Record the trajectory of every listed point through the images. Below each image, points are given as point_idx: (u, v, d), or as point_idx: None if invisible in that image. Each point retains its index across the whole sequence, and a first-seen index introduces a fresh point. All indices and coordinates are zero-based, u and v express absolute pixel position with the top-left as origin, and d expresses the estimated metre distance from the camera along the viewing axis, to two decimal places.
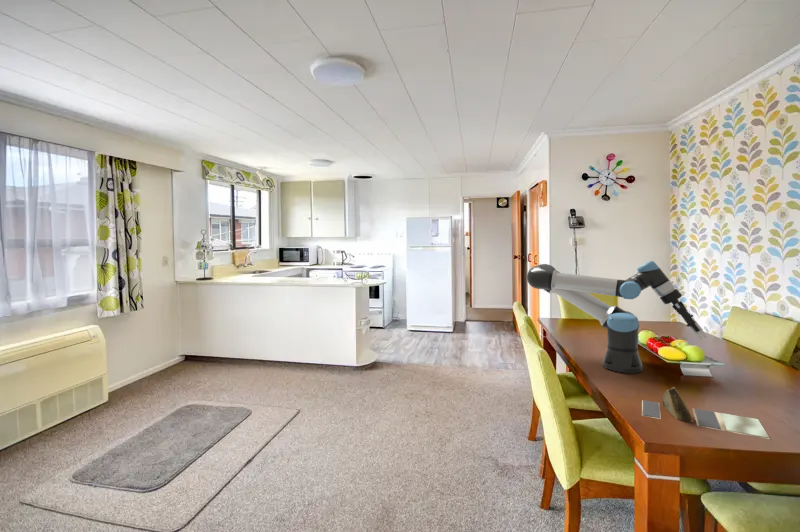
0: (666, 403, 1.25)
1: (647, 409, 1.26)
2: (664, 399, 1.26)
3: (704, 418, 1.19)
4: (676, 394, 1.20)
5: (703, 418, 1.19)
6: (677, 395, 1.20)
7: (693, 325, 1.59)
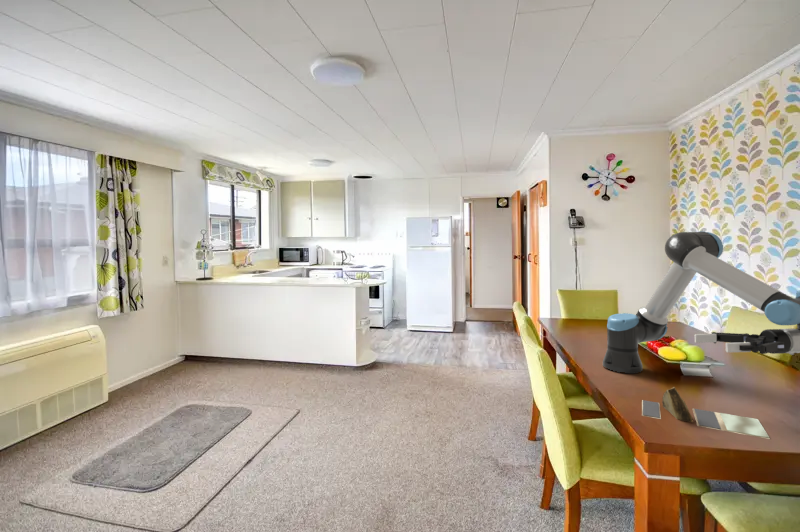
0: (666, 403, 1.25)
1: (647, 409, 1.26)
2: (664, 399, 1.26)
3: (704, 418, 1.19)
4: (676, 394, 1.20)
5: (703, 418, 1.19)
6: (677, 395, 1.20)
7: (753, 348, 1.14)
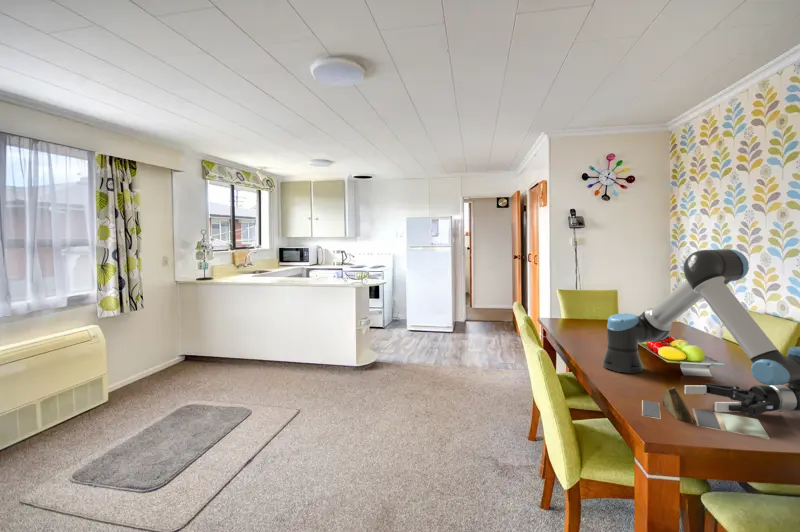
0: (666, 403, 1.25)
1: (647, 409, 1.26)
2: (664, 399, 1.26)
3: (704, 418, 1.19)
4: (676, 394, 1.20)
5: (703, 418, 1.19)
6: (677, 395, 1.20)
7: (742, 409, 1.13)
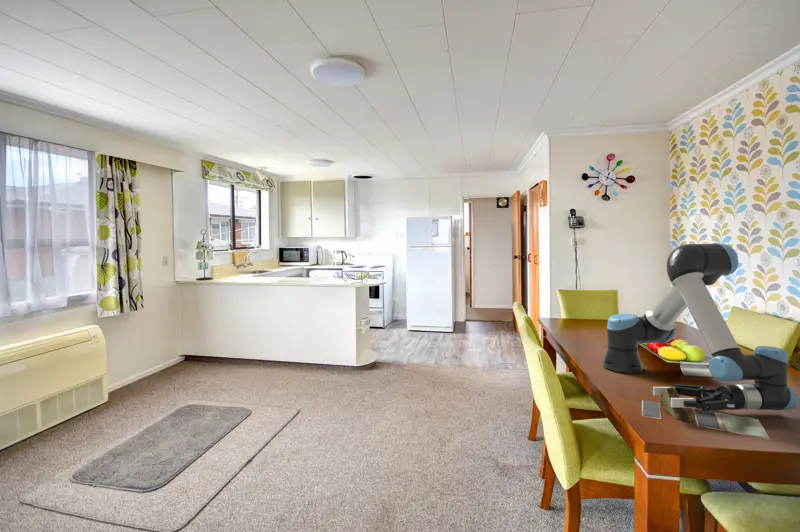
0: (665, 402, 1.26)
1: (647, 409, 1.26)
2: (663, 398, 1.26)
3: (704, 418, 1.19)
4: (674, 393, 1.20)
5: (703, 418, 1.19)
6: (675, 394, 1.20)
7: (696, 405, 1.17)
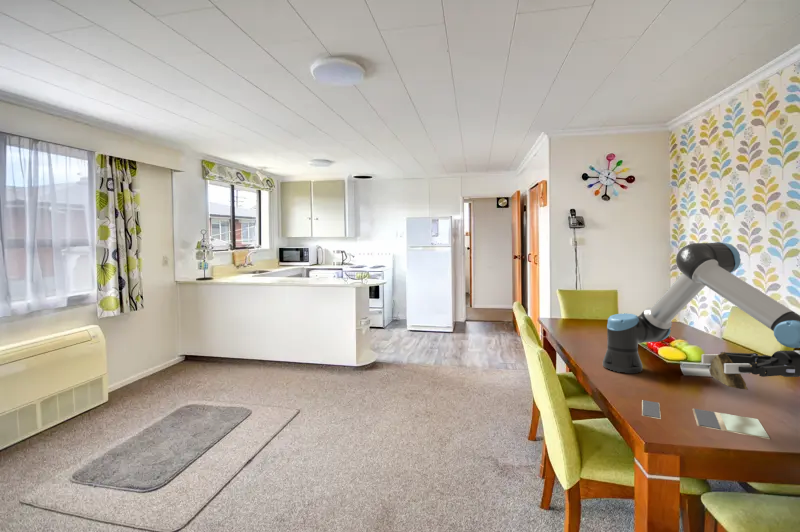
0: (715, 370, 1.18)
1: (647, 409, 1.26)
2: (712, 366, 1.19)
3: (704, 418, 1.19)
4: (727, 359, 1.13)
5: (703, 418, 1.19)
6: (728, 360, 1.12)
7: (752, 370, 1.09)
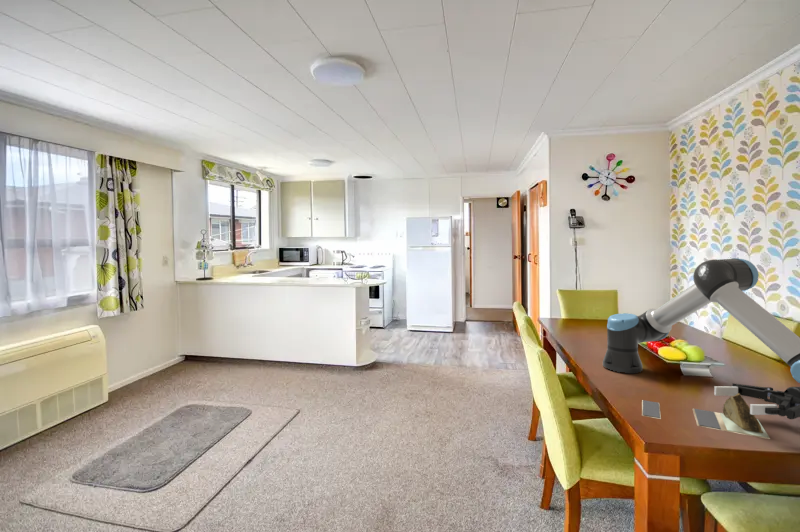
0: (729, 410, 1.17)
1: (647, 409, 1.26)
2: (726, 406, 1.18)
3: (704, 418, 1.19)
4: (742, 401, 1.12)
5: (703, 418, 1.19)
6: (743, 402, 1.12)
7: (780, 412, 1.06)
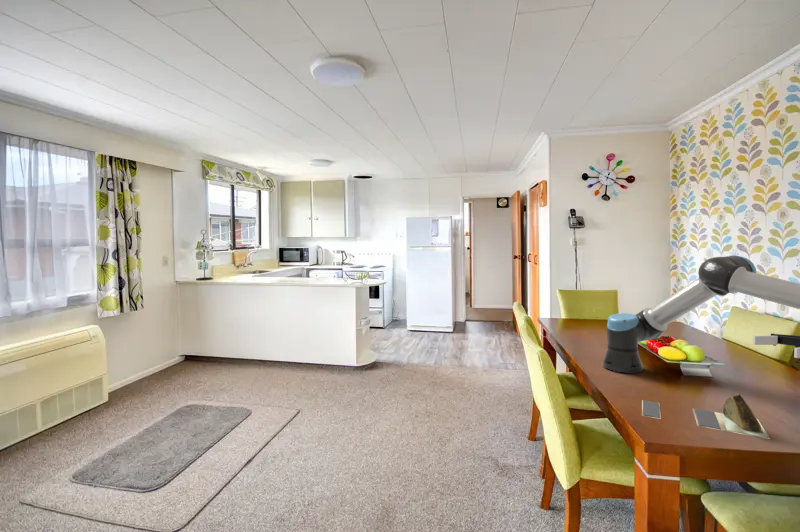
0: (728, 410, 1.17)
1: (647, 409, 1.26)
2: (726, 406, 1.18)
3: (704, 418, 1.19)
4: (742, 401, 1.12)
5: (703, 418, 1.19)
6: (743, 402, 1.12)
7: None
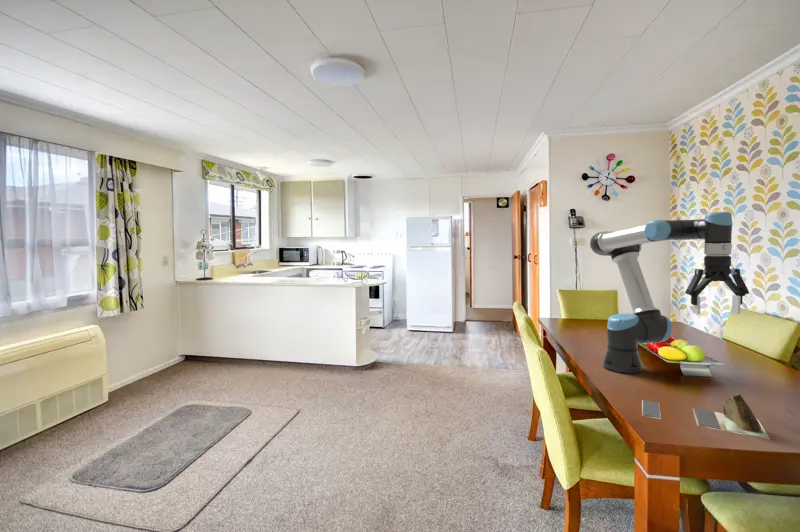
0: (728, 410, 1.17)
1: (647, 409, 1.26)
2: (726, 406, 1.18)
3: (704, 418, 1.19)
4: (742, 401, 1.12)
5: (703, 418, 1.19)
6: (743, 402, 1.12)
7: (692, 297, 1.40)
